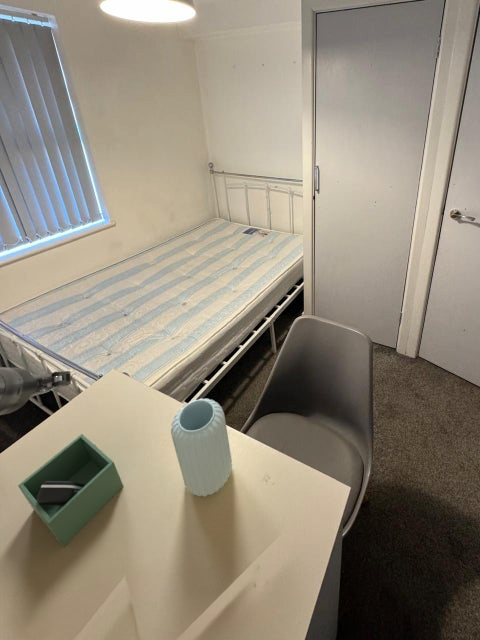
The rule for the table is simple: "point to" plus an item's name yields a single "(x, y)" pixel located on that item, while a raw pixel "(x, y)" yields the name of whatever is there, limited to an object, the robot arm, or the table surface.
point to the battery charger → (58, 492)
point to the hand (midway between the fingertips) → (39, 387)
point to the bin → (77, 466)
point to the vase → (202, 446)
